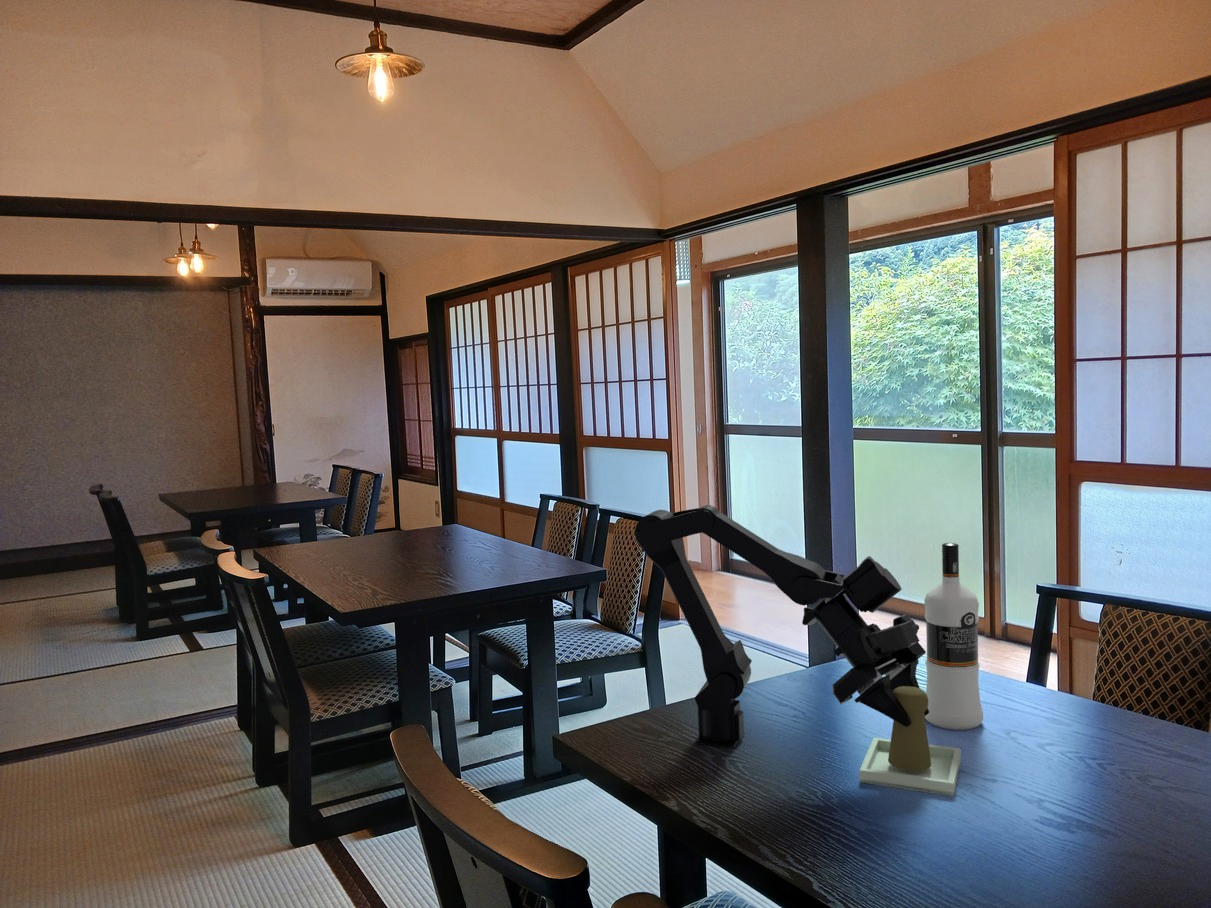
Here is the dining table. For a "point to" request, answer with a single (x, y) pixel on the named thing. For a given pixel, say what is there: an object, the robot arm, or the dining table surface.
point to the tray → (930, 780)
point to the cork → (910, 732)
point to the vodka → (952, 649)
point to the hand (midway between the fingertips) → (918, 719)
